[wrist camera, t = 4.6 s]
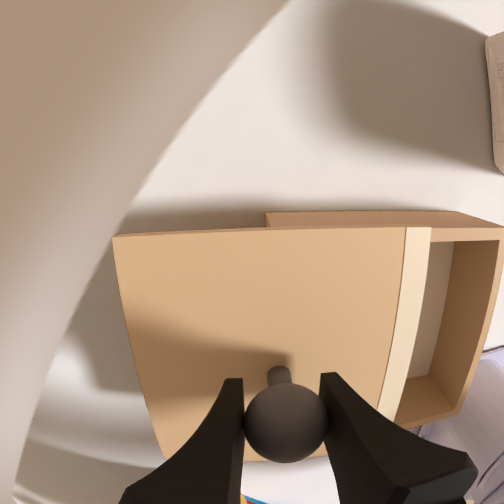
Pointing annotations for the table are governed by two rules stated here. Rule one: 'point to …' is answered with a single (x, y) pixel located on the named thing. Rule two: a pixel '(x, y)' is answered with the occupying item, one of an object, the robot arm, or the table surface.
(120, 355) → the table surface
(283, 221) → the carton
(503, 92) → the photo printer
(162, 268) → the lid
